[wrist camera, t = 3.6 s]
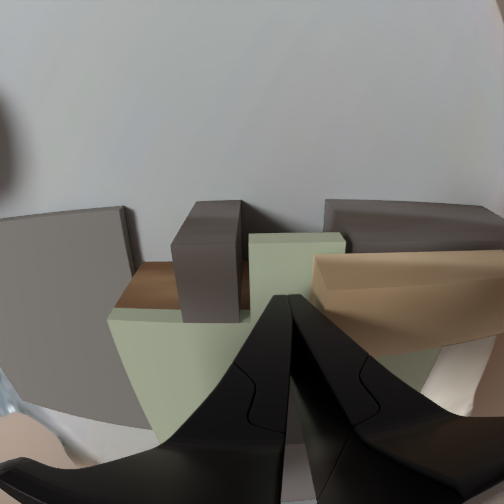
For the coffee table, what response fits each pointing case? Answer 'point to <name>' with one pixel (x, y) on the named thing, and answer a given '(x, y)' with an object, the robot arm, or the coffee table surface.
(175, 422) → the toolbox lid
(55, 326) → the rubber mat
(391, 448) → the robot arm
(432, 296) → the wooden block
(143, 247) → the coffee table surface
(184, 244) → the toolbox
